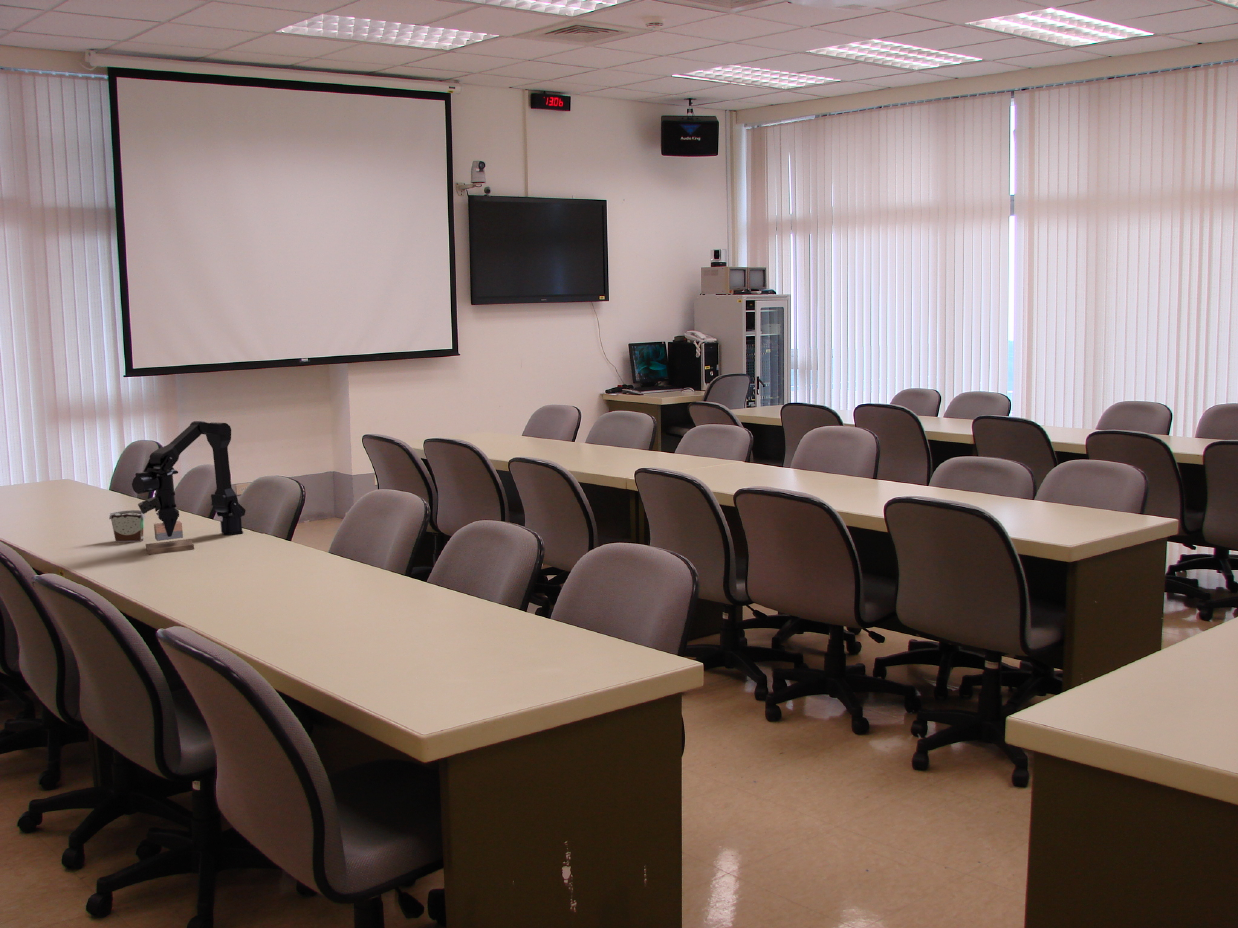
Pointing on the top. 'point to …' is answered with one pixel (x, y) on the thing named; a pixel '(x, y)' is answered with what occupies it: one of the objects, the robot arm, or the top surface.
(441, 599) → the top surface
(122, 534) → the food container
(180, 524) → the block
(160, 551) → the walnut stand
